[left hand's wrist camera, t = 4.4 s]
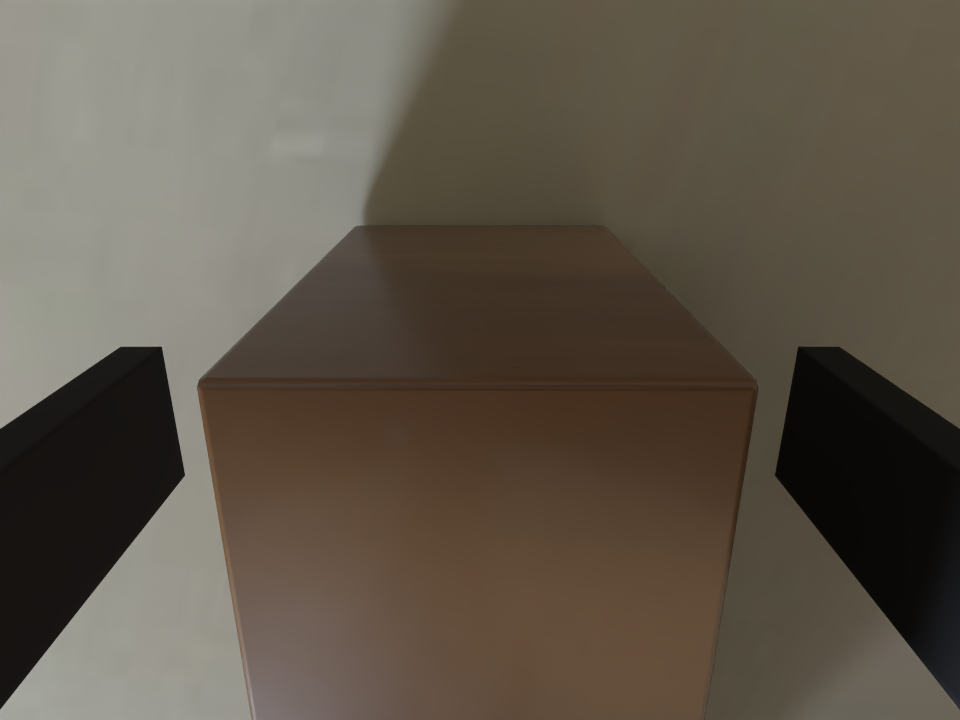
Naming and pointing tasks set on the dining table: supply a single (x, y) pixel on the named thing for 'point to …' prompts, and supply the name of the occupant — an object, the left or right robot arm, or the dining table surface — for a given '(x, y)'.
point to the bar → (478, 482)
